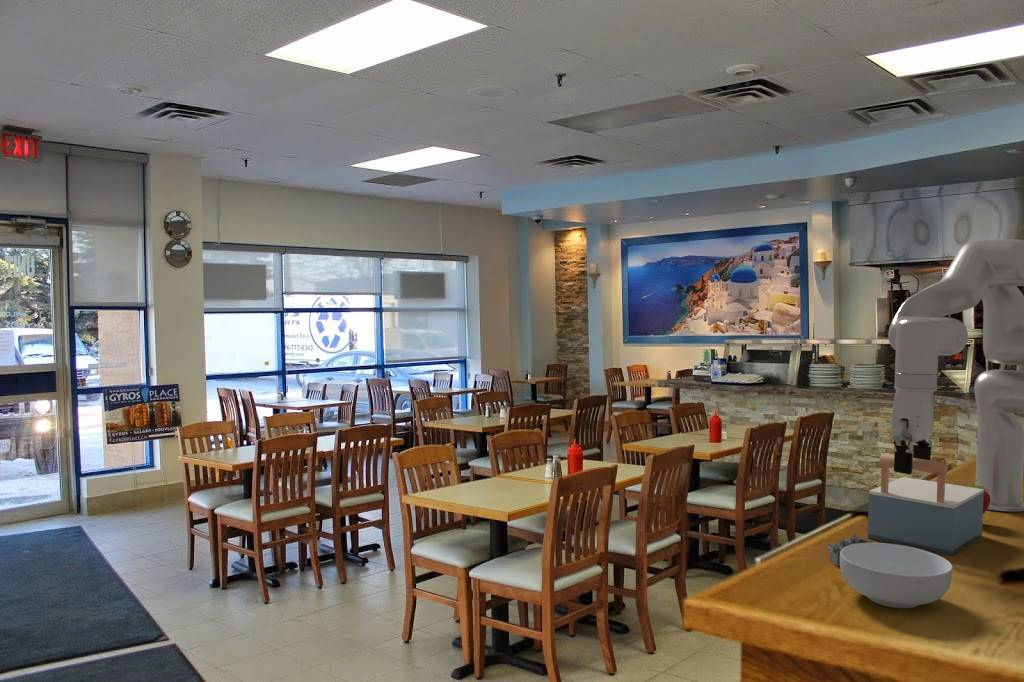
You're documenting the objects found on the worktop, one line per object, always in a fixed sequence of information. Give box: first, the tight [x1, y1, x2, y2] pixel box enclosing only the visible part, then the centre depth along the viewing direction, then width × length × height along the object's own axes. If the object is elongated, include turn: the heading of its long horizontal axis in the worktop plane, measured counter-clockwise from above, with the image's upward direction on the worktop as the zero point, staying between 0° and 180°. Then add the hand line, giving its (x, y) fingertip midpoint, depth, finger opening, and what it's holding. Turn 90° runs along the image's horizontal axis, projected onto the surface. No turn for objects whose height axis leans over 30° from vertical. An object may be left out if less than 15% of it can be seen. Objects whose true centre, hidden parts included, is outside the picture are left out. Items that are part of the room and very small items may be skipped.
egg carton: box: [826, 534, 875, 566], centre depth 159 cm, size 11×8×4 cm
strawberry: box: [961, 479, 990, 515], centre depth 184 cm, size 6×8×10 cm
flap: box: [868, 453, 984, 509], centre depth 174 cm, size 18×16×8 cm
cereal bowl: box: [839, 542, 954, 609], centre depth 140 cm, size 17×17×7 cm
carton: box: [867, 492, 984, 556], centre depth 175 cm, size 18×16×9 cm
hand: (912, 469), depth 168 cm, fingers open, 9 cm apart
